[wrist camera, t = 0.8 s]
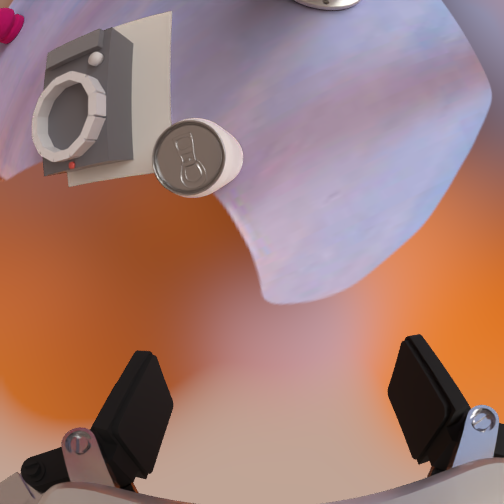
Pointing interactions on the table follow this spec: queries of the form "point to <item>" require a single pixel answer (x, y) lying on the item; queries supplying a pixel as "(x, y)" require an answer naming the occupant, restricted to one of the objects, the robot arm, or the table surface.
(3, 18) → the pepper mill
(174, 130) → the can
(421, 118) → the table surface
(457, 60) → the table surface
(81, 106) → the camera body
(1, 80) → the table surface
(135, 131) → the mat
